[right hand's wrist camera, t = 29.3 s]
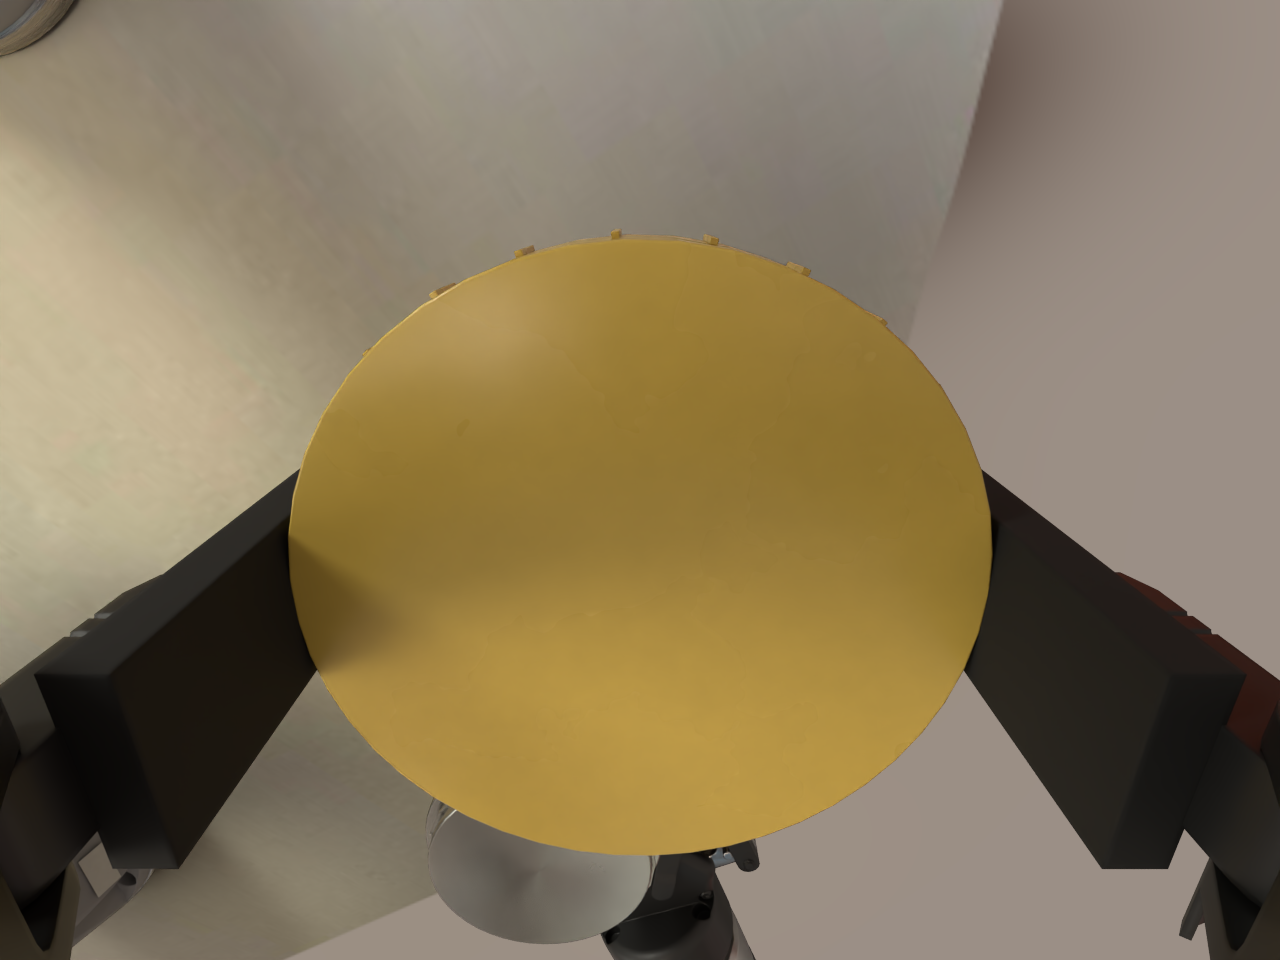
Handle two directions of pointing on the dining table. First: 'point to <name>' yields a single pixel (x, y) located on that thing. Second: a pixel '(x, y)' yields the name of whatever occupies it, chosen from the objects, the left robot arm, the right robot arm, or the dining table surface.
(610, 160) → the dining table surface
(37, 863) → the right robot arm
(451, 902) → the jar
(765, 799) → the lid
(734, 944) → the left robot arm
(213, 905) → the dining table surface
